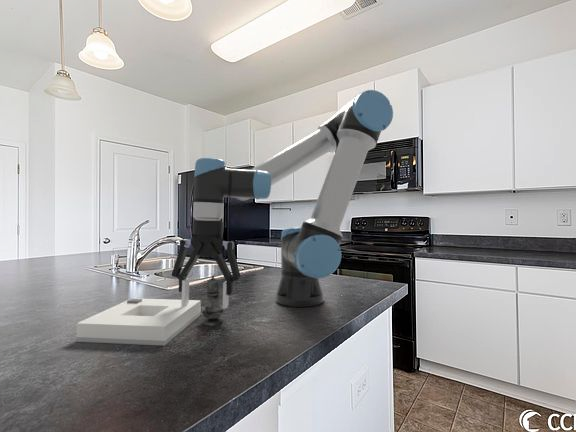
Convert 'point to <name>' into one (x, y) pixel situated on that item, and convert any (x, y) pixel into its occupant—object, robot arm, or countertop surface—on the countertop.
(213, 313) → the dark gray chess piece
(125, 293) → the countertop surface
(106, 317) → the socket plate
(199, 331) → the countertop surface
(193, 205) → the robot arm
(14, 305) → the countertop surface
